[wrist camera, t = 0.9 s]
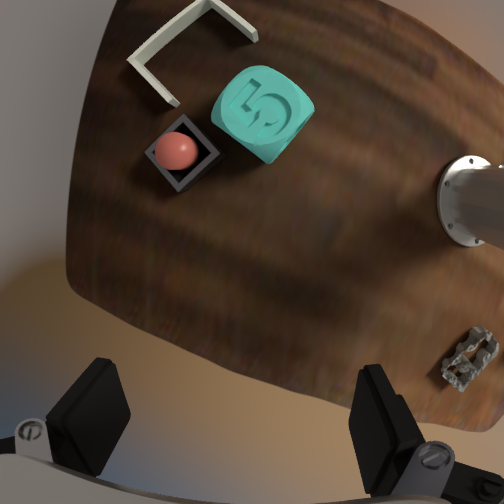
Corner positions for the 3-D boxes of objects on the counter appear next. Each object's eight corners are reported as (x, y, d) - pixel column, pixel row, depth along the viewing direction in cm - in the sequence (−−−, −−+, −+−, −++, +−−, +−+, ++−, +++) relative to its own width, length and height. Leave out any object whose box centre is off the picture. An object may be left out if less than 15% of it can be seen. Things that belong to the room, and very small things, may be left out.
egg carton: (478, 317, 38) (490, 328, 34) (493, 339, 38) (505, 350, 34) (433, 365, 40) (443, 379, 36) (452, 383, 41) (461, 396, 37)
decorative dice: (259, 78, 33) (253, 54, 25) (311, 116, 33) (319, 101, 26) (218, 126, 35) (202, 114, 27) (270, 166, 35) (267, 163, 28)
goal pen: (212, 2, 30) (208, -8, 27) (258, 39, 31) (256, 30, 28) (136, 66, 33) (126, 59, 30) (176, 107, 34) (168, 102, 32)
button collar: (193, 119, 35) (183, 113, 31) (226, 155, 35) (220, 153, 32) (156, 154, 36) (144, 152, 32) (188, 190, 37) (178, 192, 33)
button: (184, 128, 32) (174, 124, 29) (206, 153, 33) (198, 151, 29) (160, 152, 33) (147, 150, 30) (181, 177, 34) (170, 177, 30)
